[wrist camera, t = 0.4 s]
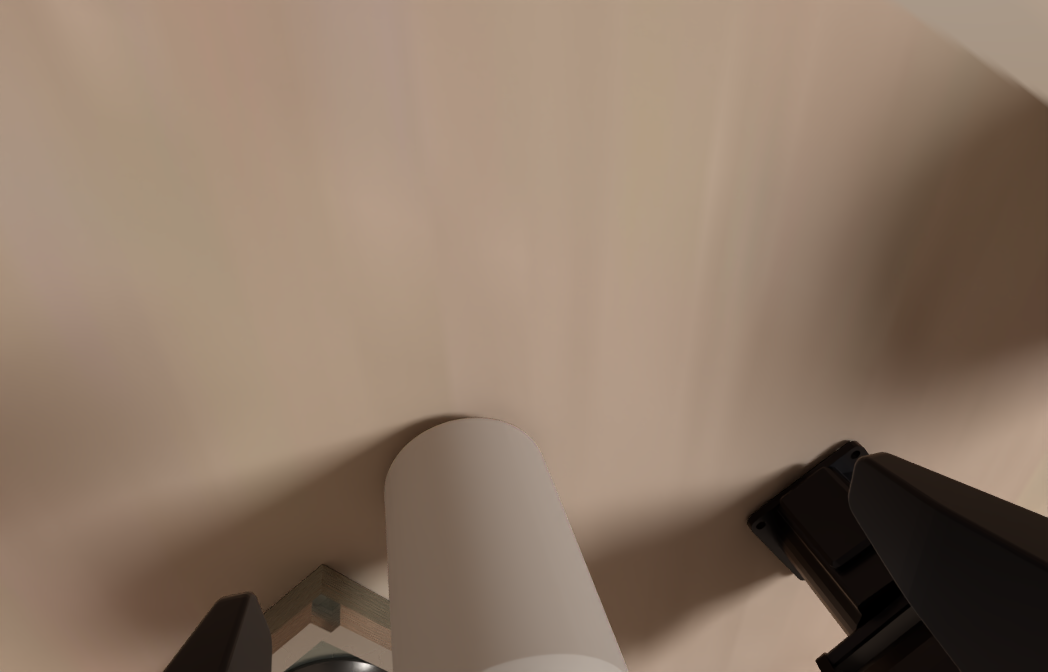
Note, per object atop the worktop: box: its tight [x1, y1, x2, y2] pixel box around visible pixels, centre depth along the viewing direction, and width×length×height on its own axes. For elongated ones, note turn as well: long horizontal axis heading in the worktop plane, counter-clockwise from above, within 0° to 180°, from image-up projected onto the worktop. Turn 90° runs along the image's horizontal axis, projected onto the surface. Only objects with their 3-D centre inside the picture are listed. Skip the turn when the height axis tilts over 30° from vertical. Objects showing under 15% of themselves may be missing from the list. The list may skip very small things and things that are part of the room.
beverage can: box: [384, 418, 629, 672], centre depth 20 cm, size 6×6×12 cm
